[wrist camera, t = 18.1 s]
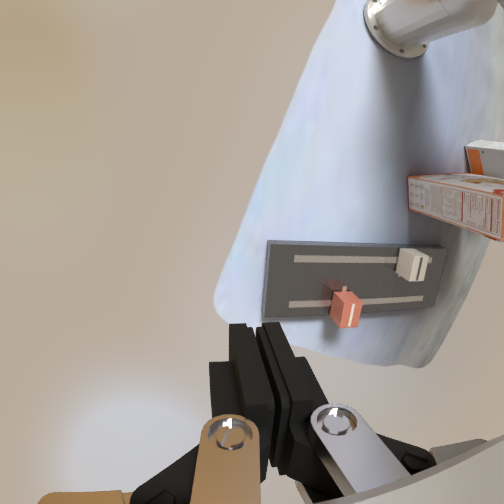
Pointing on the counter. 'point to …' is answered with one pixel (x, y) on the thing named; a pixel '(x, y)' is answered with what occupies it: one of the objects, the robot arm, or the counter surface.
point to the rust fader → (345, 309)
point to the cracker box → (461, 201)
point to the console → (344, 277)
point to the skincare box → (486, 158)
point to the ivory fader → (412, 264)
